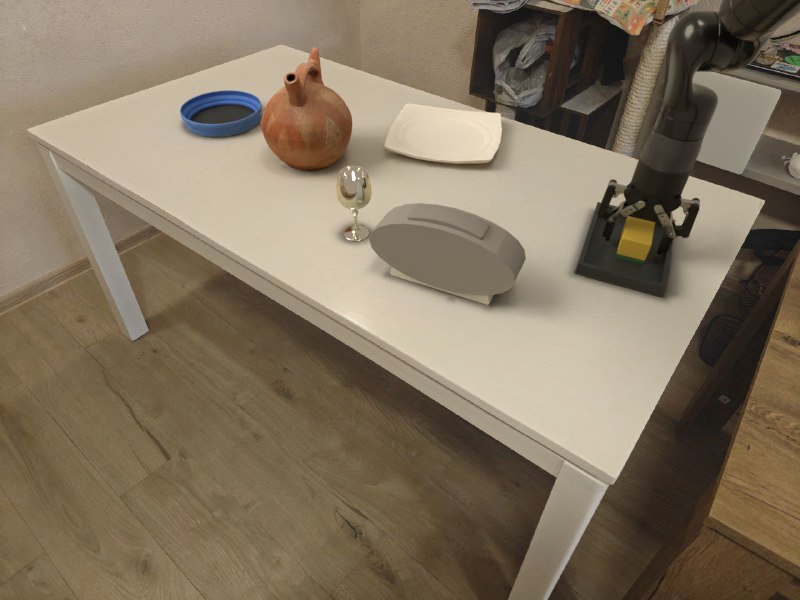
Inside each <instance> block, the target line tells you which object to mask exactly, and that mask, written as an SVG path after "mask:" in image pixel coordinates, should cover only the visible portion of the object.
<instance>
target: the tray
mask: <svg viewBox="0 0 800 600" xmlns="http://www.w3.org/2000/svg"><path fill="white" fill-rule="evenodd" d="M600 204H601V202H599V201H597V203H596V206H595V208H594V211H593V215H592V218H591V221H590V224H589V227H588V230H587V233H586V237H585V240H584V243H583V246H582V249H581V252H580V255H579V258H578V261H577V265H576V268H575V271H574V274H575V275H578V276H582V277H585V278H589V279H593V280H597V281H600V282H603V283H607V284H611V285H615V286H619V287H621V288H625V289H630V290H633V291H636V292H640V293H644V294H648V295H652V296H655V297H659V298H663V297H664V295H665V293H666V291H667V289H668V285H669V284H668V282H669V276H670V269H671V268H670V267H671V260H672V252H673V245H674V240H673V241H672V243H671V245H670V248H669V250H668V251H667V252H666V253H664V252H663V253H662V255H659V254H657V250H658V247H659V244H660V242H661V239H662V237H663V235H664V233H665V229H664V228H663V227H662V225H661V222H660V220H659V219H655V221H653V220H649V219H647V218H645V217H637V216H635V214H633V213H632V214H630V215H628V216H630V217H634V218H638V219H643V220H647V221H651V222H655V227H654V233H653V238H652V244H651V248H650V250H649V252H648V255H647V257H646V260H645V262H644V264H639V263H635V262H631V261H627V260H623V259H619V258H616V253H617V249H618V245H619V240H620V236H621V233H622V230H623V227H624V225H625V222H626V219H627V217H625V218H621V219H619V220H618V221H616V223H615V226H614V229H613V232H612V235H611V237H610V240H609V242H608V241H605V237H603V235H602V234H603V231H604V227H605V224H606V219H604V218H600V217H598V216H597V213H598V210H599V207H600ZM617 206H618V205H613V204H609V206H608V208H609V209H611V210H612V209H614V208H616V207H617ZM674 221H675V223H676V222H677V221H676V219H674Z"/></svg>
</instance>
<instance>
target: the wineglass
mask: <svg viewBox="0 0 800 600" xmlns="http://www.w3.org/2000/svg"><path fill="white" fill-rule="evenodd" d="M372 189H373V188H372V183H371V179H370V175H369V172H368V169H366V168H365V167H363V166H360V165H348V166H345V167H343V168H341V169H339V171H338V175H337V180H336V197H337V200H338V202H339V203H340V205H341V206H343V207H344V208H346V209H348V210H352V211H351V213H352V216H353V219H354V221H353V222H354V225H351V226H348V227H346V229H345V230H344V231H343V236H344V238H345V239H346V240H348V241H352V242H361V241H364V240H366V239H367V238H368V237H369V236H370V231H369V229H368V228H366V227H365V226H364V225H363V226H362V225H358V215H359V210H360V209H363V208H365V207H366V206H367V205H368V204H369V203H370V201H371V199H372V193H373V191H372Z"/></svg>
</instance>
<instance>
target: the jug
mask: <svg viewBox="0 0 800 600" xmlns="http://www.w3.org/2000/svg"><path fill="white" fill-rule="evenodd" d="M308 56H309V57H308V60H307V62H301V63H300V64H299V65H298V66H296V69H295V71H293V72H287V73H286V74H285V75H284V77H283V83H284V86H283V87H281V88H279V89H278V90H277V91H276V92H275V93H274V94H273V95H272V97H271V98H270V99H269V100H268V102H267V103H266V105H265V108H264V109H263V111H262V115H261V119H260V128H261V132H262V135H263V138H264V140H265V142H266V144H267V146H268V148H269V149H270V151H271V152H273V154H274V155H276V157H277V158H278V159H280V160H281V161H282V162H283V163H284V164H286V165H287V166H288V167H290V168H292V169H294V170H298V171H302V172H316V171H322V170H326V169H330V168H331V167H332V166H334V165H335V164H336V163H338V161H339V160H340V159H341V158H342V155H343V154H344V153H345V151H346V149H347V148H348V146H349V144H350V142H351V137H352V132H353V115H352V113H351V111H350V108H349V106H348V105H347V103H346V102H345V100H344V99H343V98H342V97H341V96H340V95H339V94H338V93H337V92H336V91H335V90H334V89H332V88H331V87H328V86H326V85H325V83H324V81H323V75H322V65H321V58H320V50H319V48H318V47H315V46H314V47H313V46H312V48H311V50H310V53H309V55H308Z"/></svg>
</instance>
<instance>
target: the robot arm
mask: <svg viewBox="0 0 800 600" xmlns="http://www.w3.org/2000/svg"><path fill="white" fill-rule="evenodd" d="M799 14H800V0H721V2H720V6H719V10H694V11H689V12H687V13H685V14H684V15H683V16H681V17H680V18H679V19H678V20H677V21H676V22H675V24H674V25H673V27H672V28H671V30H670V32H669V35H668V38H667V42H666V51H665V52H666V53H665V57H666V58H665V71H664V72H665V73H664V82H663V90H662V97H661V101H660V104H659V106H658V109H657V112H656V114H655V117H654V120H653V124H652V126H651V128H650V130H649V131H648V133H647V136H646V138H645V141H644V144H643V145H642V147H641V152H640V155H639V158H638V161H637V163H636V166H635V169H634V171H633V175H632V177H631V179H630V182H629V183H628V184H627V185H624V184H621V183H618V181H617V179H610V180H609V182H608V184H607V187H606V189H605V192H604V194H603V196H602V199H601V202H600V203H601V204H600V207H599V210H598V213H597V216H598V217H600V218H604V219H606V224H605V227H604V231H603V234H602V235H603V237H605V241H608V242H609V240H610V237H611V235H612V232H613V229H614V226H615V223H616V221H618V220H619V219H621V218H625V217H627V216H628V215H630V214H632V213H633V214H635V216H637V217H645V218H647V219H649V220H653V221H655V219H659V220H660V222H661V225H662V227H663V228H664V229H665V233H664V235H663V237H662V239H661V242H660V244H659V247H658V250H657V254H659V255H662V253H663V252H664V253H666V252H667V251H668V250H669V248H670V245H671V243H672V241H673V242H674V239H675V238H678V237H680V238H683V239H687V238H689V237H690V235H691V233H692V229H693V227H694V225H695V222H696V219H697V217H698V214H699V212H700V205H701V199H700V198H698V197H693V198H692V199H688V198H687V199H686V198H683V197H682V194H683V192H684V190H685V187H686V184H687V183H688V180H689V178H690V176H691V173H692V171H693V169H694V166H695V164H696V162H697V160H698V157H699V155H700V152H701V149H702V145H703V142H704V138H705V135H706V133H707V131H708V129H709V126H710V124H711V122H712V120H713V117H714V115H715V112H716V110H717V107H718V104H719V97H718V94H717V93H716V91H715V90H714V89H711V88H710V87H708V86H705V85H702V84H699V83H695V82H693V79H694V76H695V74H696V73H730V72H734V71H735V72H736V71H739V70H740V69H743V68H745V67H747V66H748V65H750V64H752V62H754V60H755V59H756V58H757V57H758V56H759V54H760V52H761V51H762V49H763V48H764V46H765V45H766V44H767V43H768V42H769V40H770V39H771V38H772V36H773V35H774V33H775V32H776V31H777V30H778V29H779V28H780V27H783V26H784V25H785V24H787V22H789V21H791V20H792V19H794V18H795V17H797V15H799ZM621 194H622V195H623V197H624V199H625V200H623V201H622V202H620V204H619V205H616V206H617V207H616V208H614V209H612V210H611V209H609V208H608V206H609V205H611V201H612V199H616V198H618V197H619V195H621ZM679 208H682V213H683V214H684V215H685V216H684V218H683V221H682V224H681V225H680V224H679V225H677V223H676V222H675V221H674V220H675V219H674V215H673V212H674V211H676V210H678V209H679Z"/></svg>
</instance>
